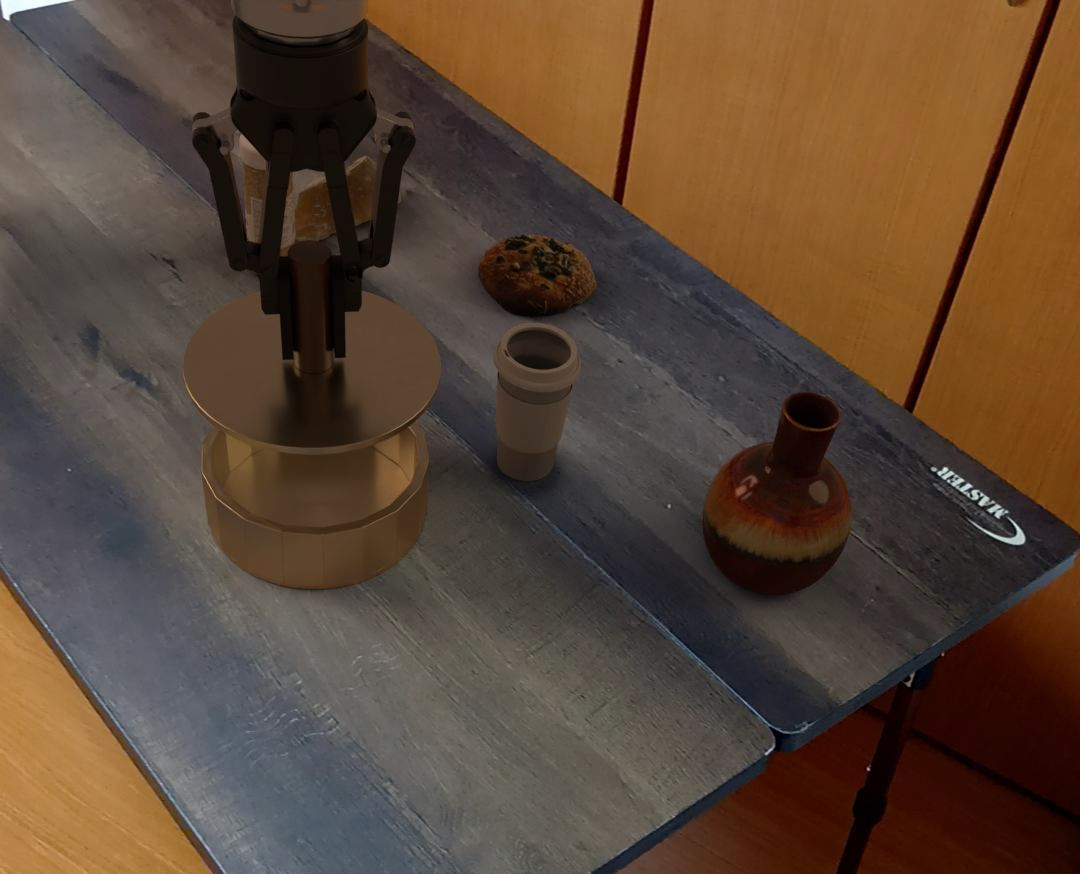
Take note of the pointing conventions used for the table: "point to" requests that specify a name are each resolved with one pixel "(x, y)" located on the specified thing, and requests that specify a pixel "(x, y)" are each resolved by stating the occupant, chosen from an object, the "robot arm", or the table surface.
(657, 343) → the table surface
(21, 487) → the table surface
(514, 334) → the cup
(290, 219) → the sprinkles bottle
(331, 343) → the pot lid
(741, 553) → the vase
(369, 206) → the stone
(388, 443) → the pot
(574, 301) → the bread roll
